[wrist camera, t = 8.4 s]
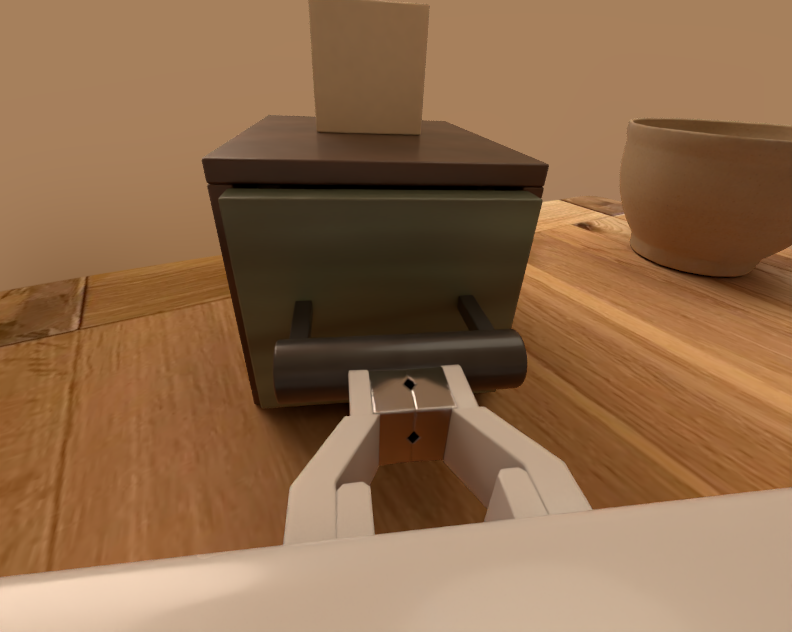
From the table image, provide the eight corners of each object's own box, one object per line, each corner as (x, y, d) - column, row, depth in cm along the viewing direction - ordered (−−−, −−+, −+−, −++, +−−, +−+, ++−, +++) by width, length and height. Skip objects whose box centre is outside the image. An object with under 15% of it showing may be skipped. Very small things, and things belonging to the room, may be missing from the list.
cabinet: (495, 388, 19) (550, 163, 13) (254, 405, 17) (200, 157, 12) (431, 265, 31) (446, 121, 26) (286, 268, 30) (267, 115, 24)
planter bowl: (606, 217, 45) (642, 113, 39) (784, 253, 37) (862, 130, 31) (572, 260, 33) (615, 122, 28) (818, 324, 26) (950, 151, 20)
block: (316, 132, 18) (308, -6, 15) (319, 121, 22) (313, 11, 19) (420, 135, 19) (429, 4, 16) (404, 124, 23) (409, 18, 20)
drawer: (539, 477, 14) (630, 250, 9) (239, 509, 12) (161, 258, 8) (431, 267, 29) (444, 140, 24) (290, 270, 27) (274, 135, 22)
